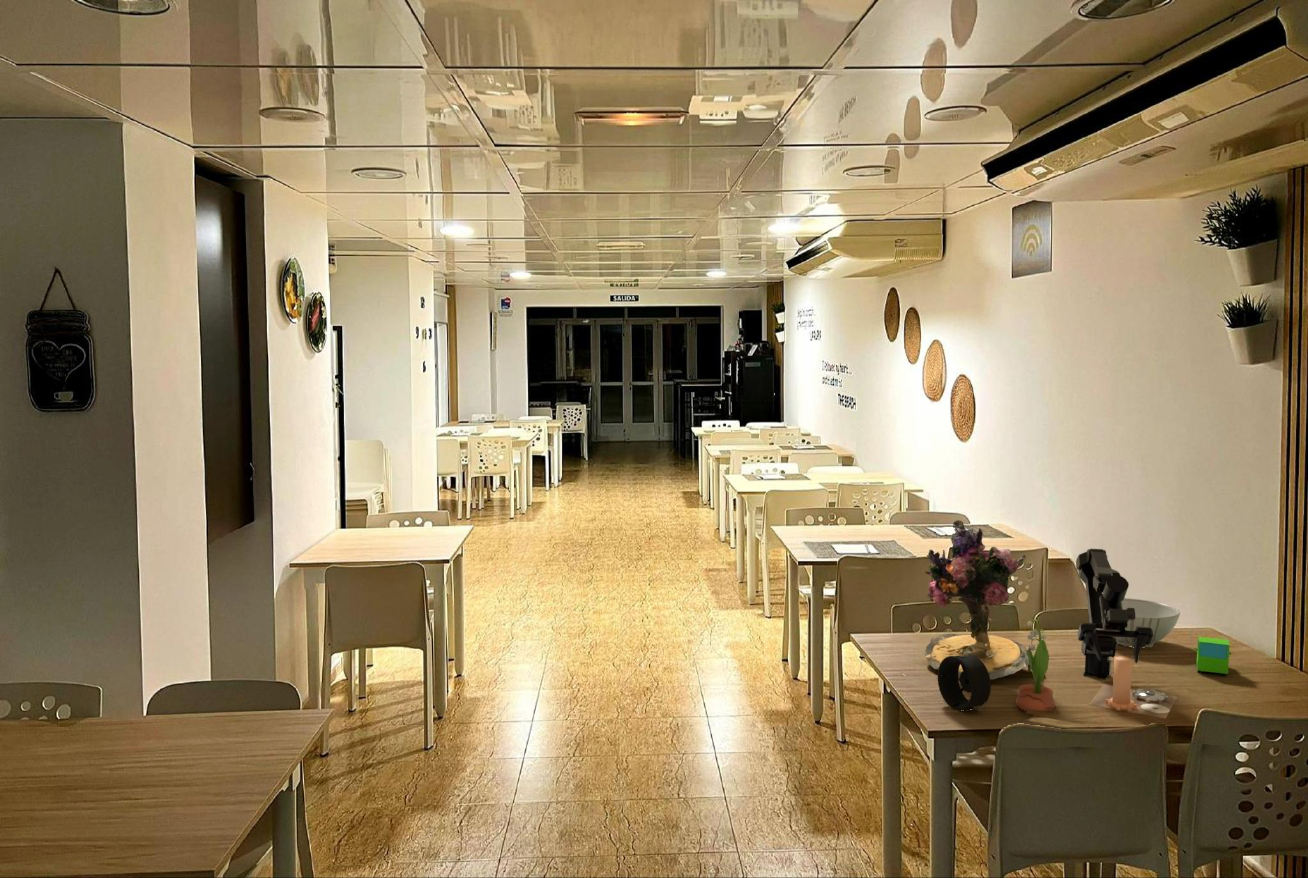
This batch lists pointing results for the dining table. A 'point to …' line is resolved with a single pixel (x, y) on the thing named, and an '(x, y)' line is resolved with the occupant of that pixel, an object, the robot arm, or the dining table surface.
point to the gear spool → (1122, 685)
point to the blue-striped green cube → (1213, 655)
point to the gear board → (1142, 706)
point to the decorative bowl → (1149, 619)
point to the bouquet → (974, 602)
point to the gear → (1150, 696)
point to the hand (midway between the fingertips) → (1118, 660)
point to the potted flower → (1036, 676)
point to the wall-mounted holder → (964, 682)
